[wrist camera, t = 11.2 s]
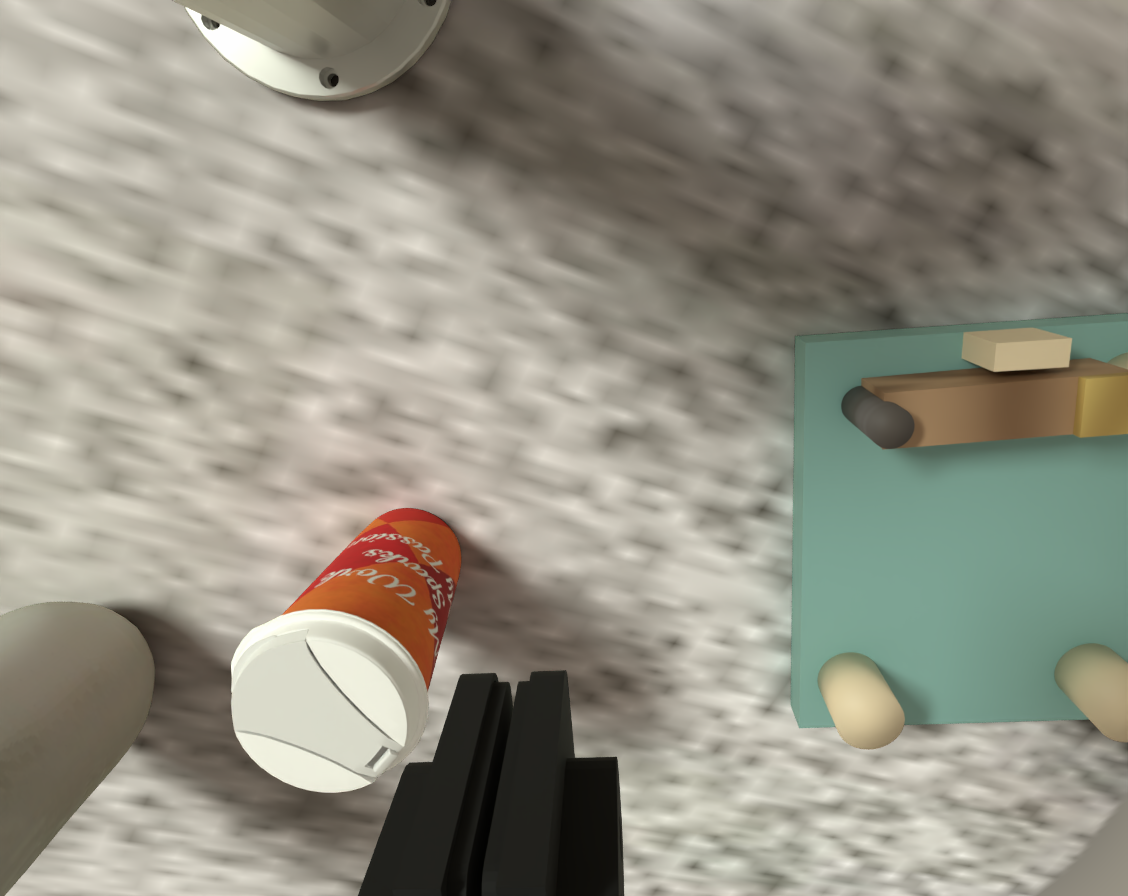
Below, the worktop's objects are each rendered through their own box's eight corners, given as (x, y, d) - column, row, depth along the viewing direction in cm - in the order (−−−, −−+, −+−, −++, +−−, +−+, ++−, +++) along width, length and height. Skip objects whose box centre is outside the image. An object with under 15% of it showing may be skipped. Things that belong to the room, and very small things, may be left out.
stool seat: (795, 336, 36) (826, 357, 31) (1166, 310, 35) (1263, 327, 30) (790, 704, 43) (816, 774, 37) (1105, 694, 41) (1177, 764, 36)
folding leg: (841, 431, 35) (869, 458, 32) (841, 380, 35) (870, 400, 31) (1084, 411, 34) (1144, 436, 31) (1090, 357, 34) (1151, 376, 30)
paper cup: (509, 546, 41) (461, 710, 27) (428, 641, 43) (347, 837, 29) (391, 459, 39) (280, 586, 26) (313, 561, 42) (175, 727, 28)
